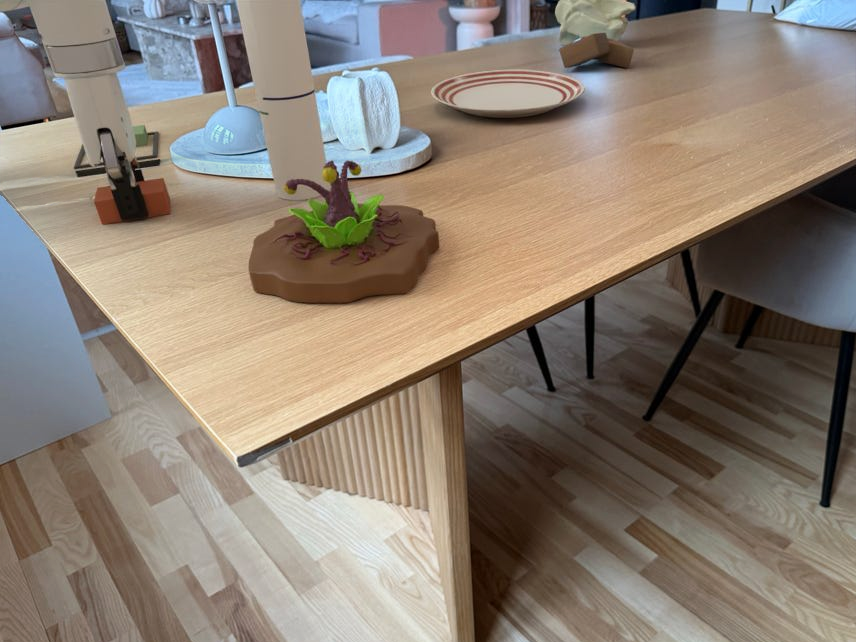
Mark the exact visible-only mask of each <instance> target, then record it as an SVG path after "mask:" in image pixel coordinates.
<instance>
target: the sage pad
mask: <svg viewBox="0 0 856 642" xmlns="http://www.w3.org/2000/svg"><path fill="white" fill-rule="evenodd" d="M132 126H133V130H134V134H135V138H136V148H137V147H144V146H148V140H149V136H148V134H147V133H148V131H147V128H146V124H140V125H132Z"/></svg>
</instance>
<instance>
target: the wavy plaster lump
mask: <svg viewBox="0 0 856 642" xmlns="http://www.w3.org/2000/svg"><path fill="white" fill-rule="evenodd" d="M634 11H636V5H635V2H630V1H626V0H558V2H557V4H556V6H555V11H554V15H555V18H556V21H557V23H558V24H559V25H560V26H559V33H558V36H557V39H558V42H559V43H560V45H561V46H562V47H565V46H567V45H569V44H571V43H573V42H576V41H578V40H580V39H582V37H584V36H589V35H591V34H595V33H606V35H607V38H609V39H613V40H616V41H618V42H620V39H621V37H622V36H623V35H624V33H625V31H626V30H627V29H626V28H627V27H628V24H629V21H628V18H627V17H624V16H626V15H629V14H631V13H632V12H634Z"/></svg>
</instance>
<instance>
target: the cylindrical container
mask: <svg viewBox="0 0 856 642" xmlns="http://www.w3.org/2000/svg"><path fill="white" fill-rule="evenodd" d="M235 2H236V8H237V13H238V16H239V21H240V26H241V31H242V37H243V40H244V46H245V50H246V55H247V59H248V65H249V69H250V73H251V78H252V84H253V89H254V93H255V98H256V103H257V107H258V110H259V111H258V113H259V117H260V122H261V126H262V131H263V136H264V141H265V145H266V151H267V155H268V160H269V164H270V169H271V174H272V178H273V183H274V188H275V193H276V196H277V197H278V198H280V199H282V200H287V201H304V200H312V199H315V198H319V197H322V195H321V194H319V193H318V192H317V191H315V190H313V189H312V188H311V187H308V186H306V185H301V184H299V185H297V191H296V193H295V194H287V192H286V191H285V190H284V185H285V183H286V182H287V181H289V180H291V179H294V180H295V179H305V180H310V181H314V182H315V183H317V184H318V185H321V187H323V188H324V189H326V190H328V191H331V189H332V185H331V183H328V182H326V181H325V180H324V179H323V177H322V171H323V168H324V166H325V164H326V163H328V161H327V158H326V151H325V145H324V139H323V133H322V127H321V119H320V114H319V109H318V103H317V95H316V90H315V84H314V83H315V82H314V77H313V72H312V66H311V59H310V53H309V48H308V43H307V41H308V40H307V36H306V29H305V24H304V17H303V11H302V10H303V9H302V4H301V0H235Z"/></svg>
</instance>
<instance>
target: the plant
mask: <svg viewBox="0 0 856 642" xmlns="http://www.w3.org/2000/svg"><path fill="white" fill-rule="evenodd" d="M340 171H341V173H340V172H339V171H338V167H337V165H336V164H335V162H334V160H329V161H327V163H326V164H325V166H324V168H323V171H322V177H323V179H324V180H325V181H326V182H328V183H330V186H331V188H330V190H329V191H328V190H326V189H324V188H323V187H321V185H318V184H317V183H315V182H314V181H310V180H305V179H295V180H294V179H291V180H289V181H287V182H286V183H285V185H284V190H285V191H286V192H287V194H295V193H296V191H297V185H299V184H301V185H306V186H308V187H311V188H312V189H313V190H315V191H317V192H318V193H319V194H321V197H322V198H324V201H323V202H319V201H317V200H314V199H307V200H308V202H307V204H308V206H309V207H310V208H311V210H307V209H304V208H299V207H297V208H296V207H294V208H291V207H290V208H288V211H289V213H291V214H292V215H288V216H285V217H282V218H278V219H275V220H274V222H273V223H274V225H273V226H272V227H271V228H269V229H267V230H266V231H264V232H263V233H261V234H258V235H257V236H255V238H254V239H253V245H252V249H251V252H250V256H249V259H248V274H249V278H250V281H251V286H252V289H253V291H254V292H255V293H259V294H263V295H271V296H277V297H280V298H283V299H284V300H286V301H290V302H297V303H307V304H312V303H313V304H314V303H316V304H317V303H319V304H321V303H326V304H327V303H328V304H329V303H330V304H336V303H337V304H347V303H352V302H355V301H357V300H361V299H363V298H367V297H372V296H373V297H374V296H382V295H383V296H385V295H386V296H387V295H407V294H408V293H409V291H410V290H411V289H412V288H415V286H416V285H417V283H418V280H419V277H420V275H421V274H422V273H423V272H424V271H425V270H426V268H427V266H428V262H429V257H430V255H432V253H434V252H435V251H437V250H439V249H440V237H439V231H438V230H437V226H436V221H435V219H433V218H431V217H426V216H424V212H423V210H422V209H420V208H416V207H413V206H408V205H399V204H391V205H389V204H386V205H385V204H382V205H381V203H382V201H383V199H384V194H383V193H380V194H376V195H373V196H371V197H370V198H368V199H367V200H366V201H364V202H363V203H358V202H357V199H356V195H355V193H354V192H353V191H350V190H349V189H350V188H349V182H348V171H349V174H351V175H352V176H355V177H356V176H357V177H358V176H359V175H361V173H362V167H361V166H360V164H358V163H357V162H355V161H353V160H346V161H344V162H343V165H342V166H341V170H340Z"/></svg>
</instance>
